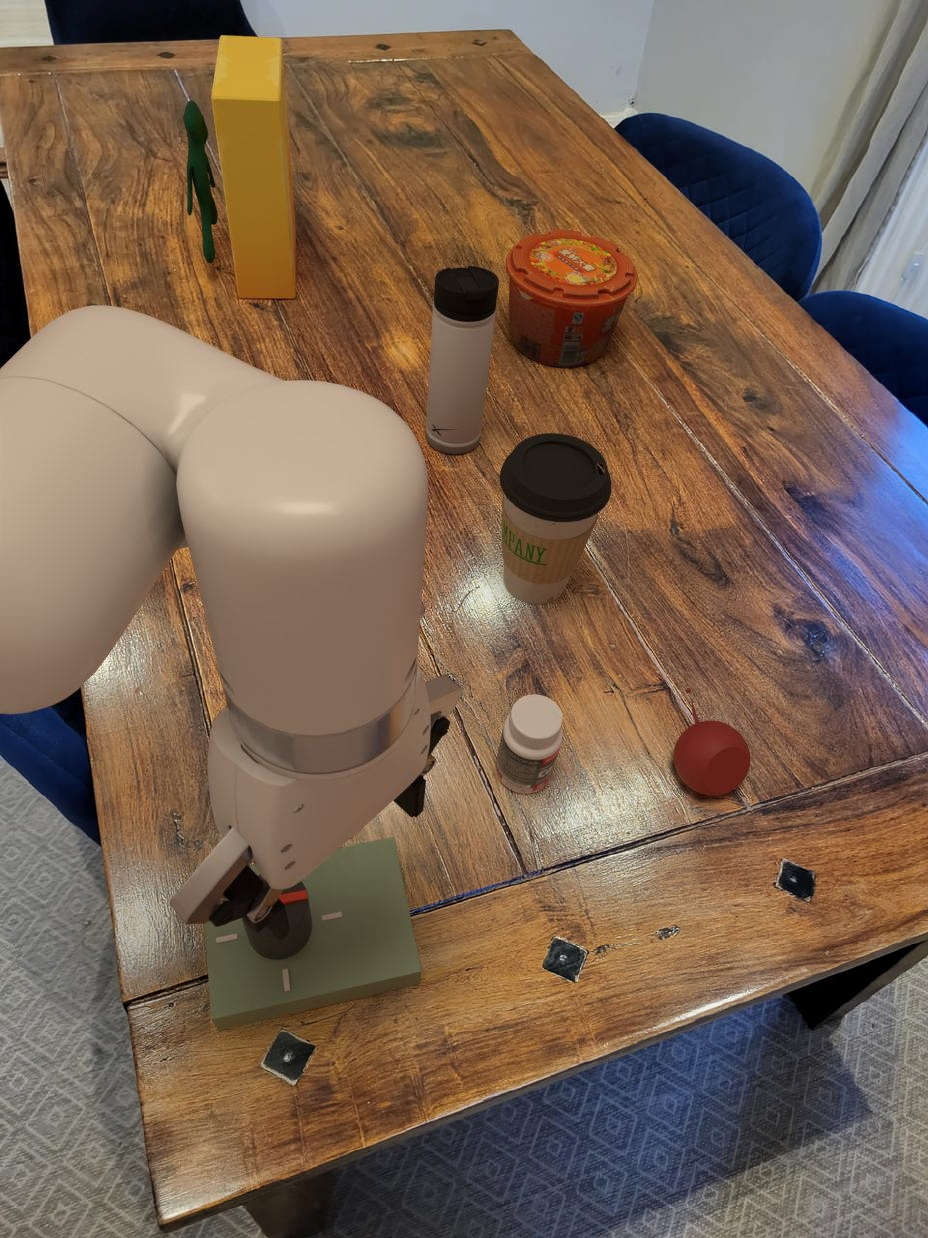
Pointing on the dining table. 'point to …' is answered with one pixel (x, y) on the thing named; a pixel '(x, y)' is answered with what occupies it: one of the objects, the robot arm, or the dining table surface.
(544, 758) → the pill bottle
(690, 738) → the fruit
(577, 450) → the coffee cup
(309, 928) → the knob
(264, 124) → the toys
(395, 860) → the panel
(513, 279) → the food container
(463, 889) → the dining table surface
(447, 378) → the travel mug
